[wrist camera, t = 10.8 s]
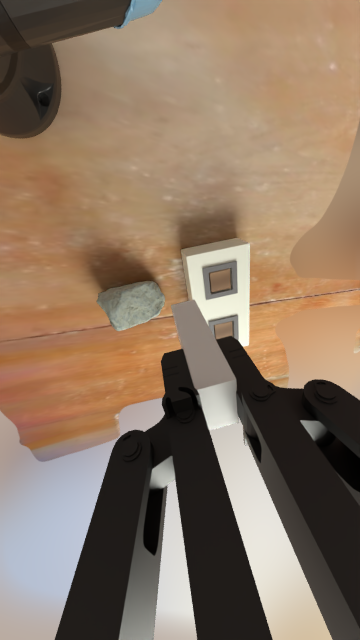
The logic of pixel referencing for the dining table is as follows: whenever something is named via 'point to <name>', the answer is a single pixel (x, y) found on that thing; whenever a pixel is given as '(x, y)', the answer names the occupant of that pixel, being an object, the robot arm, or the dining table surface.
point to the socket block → (222, 302)
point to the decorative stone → (131, 304)
